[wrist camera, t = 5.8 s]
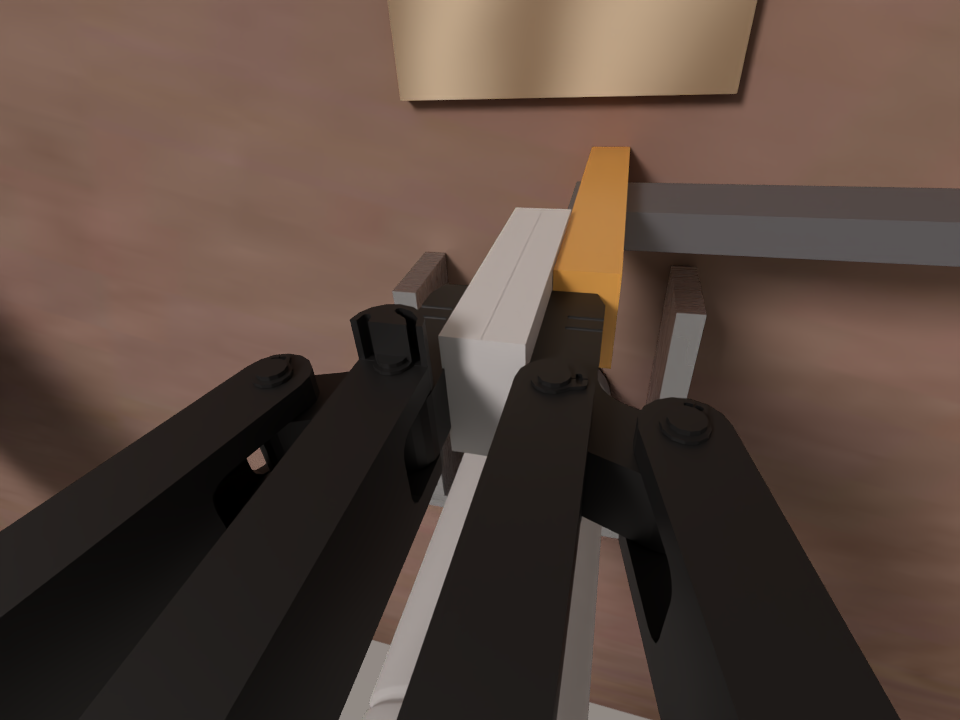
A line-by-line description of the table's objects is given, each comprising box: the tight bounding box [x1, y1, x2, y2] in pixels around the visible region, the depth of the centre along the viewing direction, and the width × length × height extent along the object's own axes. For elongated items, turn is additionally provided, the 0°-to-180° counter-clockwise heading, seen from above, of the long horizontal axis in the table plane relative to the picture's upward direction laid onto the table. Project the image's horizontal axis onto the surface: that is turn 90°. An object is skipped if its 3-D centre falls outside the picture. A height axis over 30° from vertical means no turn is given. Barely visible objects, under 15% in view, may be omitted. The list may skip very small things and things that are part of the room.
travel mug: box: [362, 370, 611, 720], centre depth 19 cm, size 6×7×20 cm
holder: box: [392, 252, 707, 539], centre depth 24 cm, size 12×14×4 cm
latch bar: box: [553, 147, 960, 369], centre depth 14 cm, size 13×2×11 cm, turn 93°
